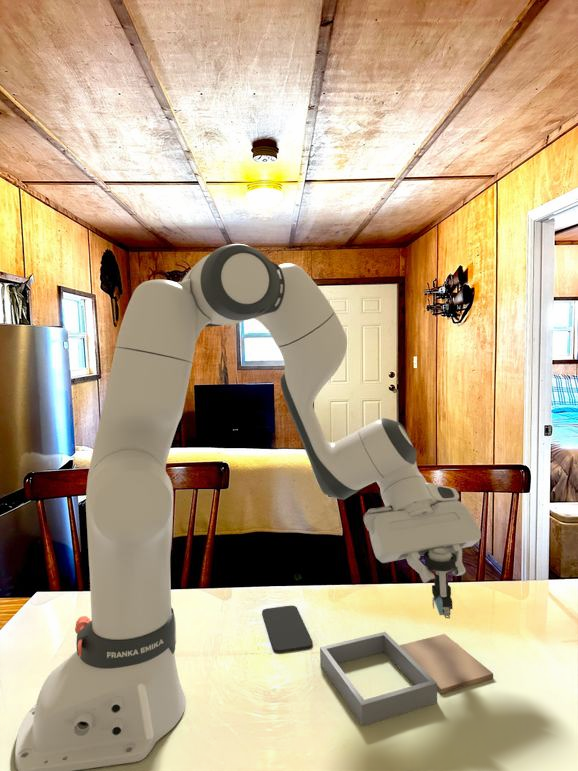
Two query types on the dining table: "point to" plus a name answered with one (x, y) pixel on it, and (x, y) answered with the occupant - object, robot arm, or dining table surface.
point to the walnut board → (447, 663)
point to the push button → (441, 577)
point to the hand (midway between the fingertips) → (445, 577)
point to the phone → (286, 629)
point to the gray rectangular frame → (386, 703)
